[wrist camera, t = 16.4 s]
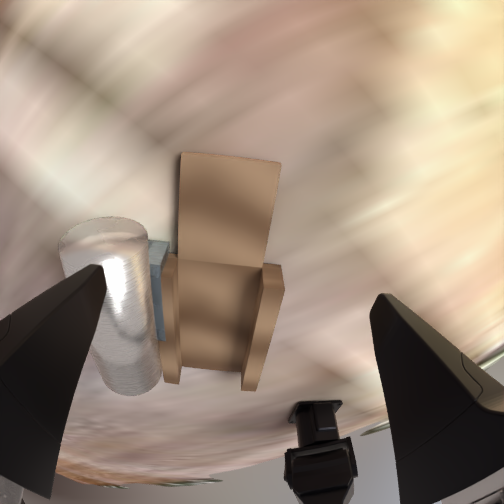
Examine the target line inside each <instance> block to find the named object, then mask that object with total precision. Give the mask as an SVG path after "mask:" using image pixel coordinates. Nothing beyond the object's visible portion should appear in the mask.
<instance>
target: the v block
mask: <svg viewBox="0 0 504 504" xmlns="http://www.w3.org/2000/svg"><path fill="white" fill-rule="evenodd" d="M148 250H149V265H150V278H151V289H152V299H153V308H154V317H155V318H156V319H155V325H156V333H157V340H160V341H166V337H165V327H164V317H163V305H162V291H161V274H162V272H163V269H164V266H165V264H166V261H167V258H168V256H169V242H163V241H153V240H148Z"/></svg>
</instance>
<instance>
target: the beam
mask: <svg viewBox="0 0 504 504" xmlns="http://www.w3.org/2000/svg"><path fill="white" fill-rule="evenodd" d="M280 171H281V163H279V162H272V161H265V160H258V159H250V158H242V157H233V156H224V155H214V154H203V153H191V152H183V153H182V154H181V166H180V186H179V215H178V254H172V253H169V256H168V258H167V261H166V264H165V266H164V269H163V272H162V274H161V291H162V305H163V317H164V327H165V337H166V341H160V340H158V343H159V350H160V357H161V364H162V370H163V376H164V381H165V382H166V383H172V384H179V381H180V375H181V368H182V366H184V367H192V368H201V369H210V370H221V371H233V372H241V391H256V389H257V385H258V382H259V379H260V376H261V372H262V369H263V366H264V362H265V359H266V355H267V352H268V349H269V345H270V342H271V338H272V335H273V331H274V328H275V324H276V321H277V317H278V313H279V310H280V306H281V302H282V299H283V295H284V291H285V287H284V281H283V275H282V269H281V265H275V264H265V263H263V261H264V256H265V251H266V245H267V240H268V235H269V230H270V224H271V219H272V214H273V208H274V203H275V198H276V192H277V187H278V182H279V176H280ZM155 319H156V318H155Z"/></svg>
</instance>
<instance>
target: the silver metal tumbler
mask: <svg viewBox="0 0 504 504" xmlns="http://www.w3.org/2000/svg"><path fill="white" fill-rule="evenodd" d="M58 250H59V255H60V259H61V263H62V267H63V270H64V274H65V278H67V277H69V276H71V275H72V274H74V273H76V272H77V271H79V270H81V269H82V268H84V267H86V266H88V265H89V264H98V265H102V266H103V268H104V273H105V278H106V283H107V292H106V296H105V299H104V303H103V306H102V310H101V313H100V317H99V321H98V325H97V328H96V332H95V335H94V337H93V340H92V343H91V346H90V348H89V349H90V351H91V354H92V356H93V359H94V361H95V363H96V366H97V368H98V370H99V373H100V375H101V377H102V379H103V381H104V383H105V384H106V386H107V387H108V388H110V389H111V390H112V391H114V392H116V393H118V394H121V395H126V396H136V395H140V394H144V393H146V392H148V391H149V390H151V389H152V388H153V387H154V386H155V385H156V384H157V383H158V381H159V379H160V377H161V373H162V366H161V360H160V354H159V347H158V340H157V333H156V325H155V317H154V308H153V299H152V289H151V278H150V265H149V250H148V233H147V231H146V229H145V228H144V227H143V226H142V225H141V224H140V223H138V222H136V221H134V220H131V219H127V218H122V217H102V218H96V219H92V220H88V221H85V222H83V223H80V224H78V225H76V226H74V227H73V228H71V229H70V230H68V231H67V232H66V233H65V234H64V235H63V236H62V238H61V240H60V242H59V245H58Z"/></svg>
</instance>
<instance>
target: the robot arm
mask: <svg viewBox="0 0 504 504" xmlns="http://www.w3.org/2000/svg"><path fill="white" fill-rule="evenodd" d="M106 292H107V283H106V278H105V273H104V268H103V266H102V265H98V264H89V265H88V266H86V267H84V268H82V269H81V270H79V271H77V272H76V273H74V274H72V275H71V276H69V277H67V278H66V279H64V280H62V281H61V282H59V283H58V284H56V285H54V286H53V287H51V288H50V289H48V290H46V291H45V292H43V293H42V294H40V295H38V296H37V297H35V298H34V299H32V300H31V301H29V302H28V303H26V304H25V305H23V306H21V307H20V308H18V309H17V310H15V311H14V312H12V314H9V315H8V316H7V317H5V318H4V319H2V320H1V321H0V504H25V503H24V501H23V499H22V494H23V490H24V488H25V489H27V490H30V491H32V492H34V493H36V494H38V495H40V496H43V497H45V498H47V499H50V497H51V493H52V486H53V481H54V475H55V470H56V465H57V460H58V455H59V451H60V446H61V441H62V437H63V433H64V429H65V425H66V421H67V418H68V414H69V410H70V407H71V403H72V400H73V396H74V393H75V390H76V387H77V384H78V380H79V377H80V374H81V371H82V368H83V365H84V362H85V360H86V357H87V354H88V351H89V348H90V346H91V343H92V340H93V337H94V335H95V332H96V328H97V325H98V321H99V317H100V313H101V310H102V306H103V303H104V299H105V296H106ZM370 324H371V330H372V337H373V344H374V351H375V356H376V361H377V365H378V370H379V374H380V378H381V383H382V388H383V392H384V397H385V402H386V407H387V412H388V418H389V423H390V429H391V434H392V440H393V447H394V453H395V460H396V469H397V477H398V485H399V495H400V504H433V503H435V502H438V501H440V500H441V501H442V504H504V386H503V385H501V384H500V383H499V382H498V381H497V380H495V379H494V378H493V377H491V376H490V375H489V374H488V373H486V372H485V371H484V370H483V369H481V368H480V367H479V366H478V365H476V364H475V363H474V362H473V361H472V360H470V359H469V358H468V357H467V356H466V355H465V354H464V353H462V352H460V350H459V349H458V348H456V347H455V346H454V345H453V344H452V343H451V342H449V341H448V340H447V339H446V338H445V337H444V336H442V335H441V334H440V333H439V332H438V331H436V330H435V329H434V328H433V327H432V326H430V325H429V324H428V323H427V322H425V321H424V320H423V319H422V318H421V317H419V316H418V315H417V314H416V313H414V312H413V311H412V310H411V309H409V308H408V307H407V306H406V305H404V304H403V303H402V302H401V301H399V300H398V299H397V298H396V297H394V296H393V295H392V294H388V293H381V294H379V295H378V296H377V298H376V300H375V303H374V305H373V307H372V309H371V311H370ZM342 404H343V403H342V401H340V400H339V401H319V402H300V403H298V404H297V406H296V408H295V410H294V411H293V413H292V415H291V416H290V418H289V420H288V422H289V423H296V427H297V436H298V446H299V448H294V449H291V448H290V449H287V452H286V453H285V471H284V480H285V481H286V482H288V485H289V487H290V489H293V492H294V494H295V496H296V498H297V500H298V502H299V504H348V503H349V502H350V500H351V498H352V496H353V494H354V483H353V478H356V477H358V472H357V465H356V460H355V455H354V451H353V447H352V442H351V438H350V437H346V438H344V439H340V437H339V432H338V427H337V421H336V416H335V413H336V412H337V410H338V409H339V408H340V407H341V405H342Z"/></svg>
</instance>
